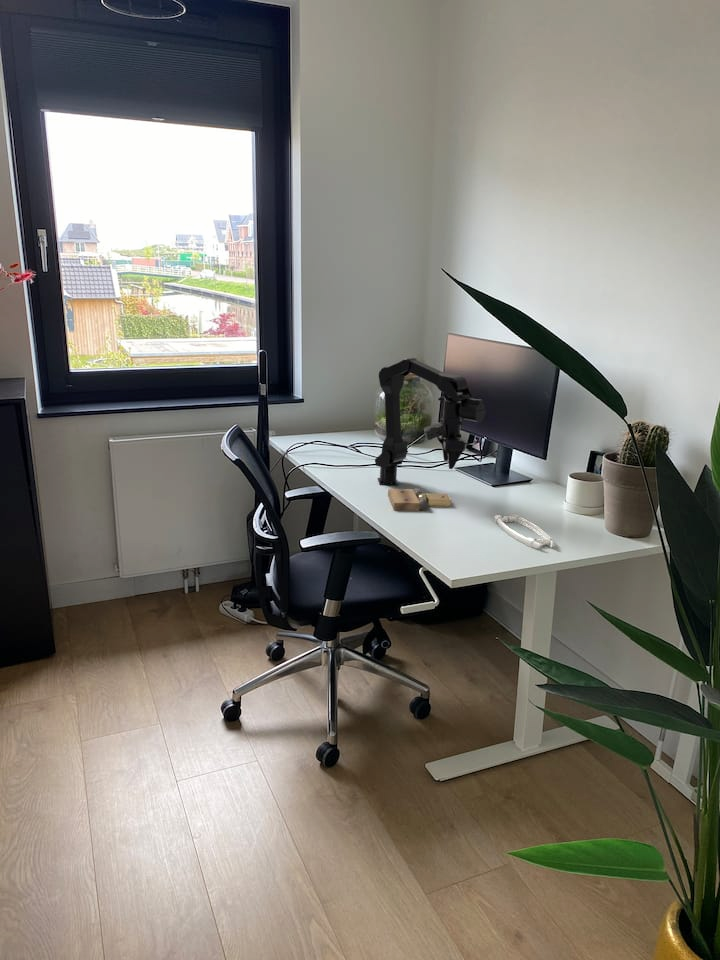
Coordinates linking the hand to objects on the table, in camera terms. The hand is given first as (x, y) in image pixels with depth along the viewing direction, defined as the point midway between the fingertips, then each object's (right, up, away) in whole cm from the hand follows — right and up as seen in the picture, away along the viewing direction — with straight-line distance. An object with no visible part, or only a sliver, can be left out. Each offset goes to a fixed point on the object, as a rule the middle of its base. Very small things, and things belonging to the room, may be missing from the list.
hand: (448, 464), depth 230 cm
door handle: (+18, -21, -24) cm, 36 cm away
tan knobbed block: (-5, -12, -1) cm, 13 cm away
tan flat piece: (-13, -12, -2) cm, 18 cm away
